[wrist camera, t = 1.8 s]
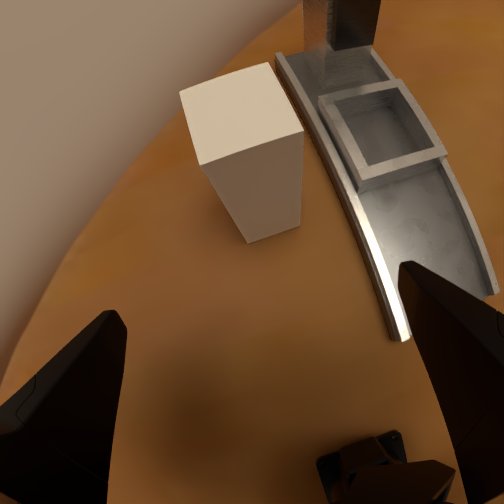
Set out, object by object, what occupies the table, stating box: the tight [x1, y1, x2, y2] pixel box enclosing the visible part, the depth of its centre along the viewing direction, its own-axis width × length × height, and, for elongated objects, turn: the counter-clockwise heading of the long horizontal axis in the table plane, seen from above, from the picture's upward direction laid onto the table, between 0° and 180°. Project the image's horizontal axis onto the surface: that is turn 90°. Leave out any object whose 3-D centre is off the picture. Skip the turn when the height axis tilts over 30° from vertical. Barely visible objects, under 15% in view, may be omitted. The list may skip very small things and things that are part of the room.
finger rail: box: [274, 0, 500, 342], centre depth 16 cm, size 25×9×14 cm, turn 18°
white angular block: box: [179, 62, 304, 244], centre depth 18 cm, size 5×4×12 cm
